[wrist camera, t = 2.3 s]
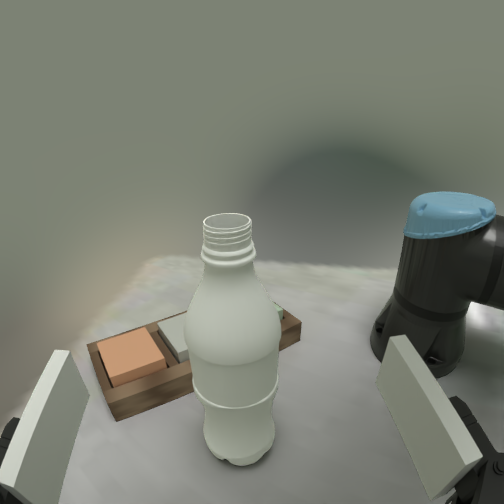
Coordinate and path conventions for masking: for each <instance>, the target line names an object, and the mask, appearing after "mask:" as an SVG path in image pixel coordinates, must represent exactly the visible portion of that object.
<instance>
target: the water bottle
mask: <svg viewBox="0 0 504 504" xmlns="http://www.w3.org/2000/svg"><path fill="white" fill-rule="evenodd" d="M251 225H252V223H251V219H250V218H249V217H248V216H245V215H242V214H236V213H224V214H217V215H212V216H210V217H208V218H206V219H205V220H204V221H203V230H204V231H203V235H204V236H203V240H204V242H203V245H202V249H203V250H202V251H201V260H202V261H203V262H204V263H205V266H204V273H203V277H202V280H201V282H200V284H199V286H198V288H197V290H196V292H195V294H194V296H193V299H192V301H191V303H190V305H189V308H188V310H187V314H186V317H185V321H184V339H185V343H186V345H187V347H188V352H189V358H190V363H191V369H192V374H193V377H192V382H193V388H194V392H195V395H196V397H197V399H198V400H199V401H200V402H201V403H202V404H203V406H204V408H205V421H204V426H203V432H204V437H205V441H206V443H207V446H208V447H209V449H210V451H211V452H212V453H213V454H214V455H215V456H216V457H217V458H219V459H221V460H224V459H227V460H229V461H230V462H231V463H232V464H234V465H239V466H244V465H249V464H253V463H255V462H256V461H258V460H259V459H260V458H261V457H262V456H263V454H264V453H265V452H267V451H268V450H269V449H270V448H271V446H272V444H273V441H274V437H275V424H274V422H273V420H272V412H271V411H272V403H273V400H274V397H275V395H276V393H277V390H278V384H279V374H278V354H279V341H280V339H281V323H280V319H279V314H278V312H277V309H276V307H275V305H274V303H273V302H272V300H271V298H270V296H269V294H268V293H267V291H266V290H265V288H264V287H263V285H262V283H261V282H260V280H259V279H258V277H257V275H256V272H255V269H254V265H253V260H254V259H255V258H256V250H255V248H254V243H253V241H252V239H251V236H252V233H251V230H252V227H251Z"/></svg>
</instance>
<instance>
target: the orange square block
mask: <svg viewBox="0 0 504 504" xmlns="http://www.w3.org/2000/svg"><path fill="white" fill-rule="evenodd" d="M97 346H98V348H99V351H100V354H101V357H102V359H103V362H104V364H105V367H106V370H107V372H108V375H109V377H110V380H111V382H112V384H113V387H114V388H115V387H118V386H121V385H124V384H127V383H129V382H132V381H135V380H138V379H140V378H143V377H146V376H149V375H151V374H154V373H157V372H159V371H162V370H164V369H167V365H166V361H165V358H164V356H163V355H162V353H161V352H160V350H159V348H158V347H157V345H156V344H155V342H154V341H153V339H152V337H151V336H150V334H149V333H148V331H147V329H146V328H145V327H143V328H140V329H137V330H134V331H131V332H128V333H125V334H122V335H119V336H116V337H113V338H110V339H107V340H104V341H101V342H98V343H97Z"/></svg>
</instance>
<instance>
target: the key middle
mask: <svg viewBox="0 0 504 504" xmlns="http://www.w3.org/2000/svg"><path fill="white" fill-rule="evenodd" d="M186 314H187V312H186V313H184V314H181V315H178V316H175V317H172V318H169V319H166V320H164V321H161V322H158V323H157V326H158V330H159V335H160V338H161V339H162V340H163V342H164V343H165V345H166V346H167V348H168V349H169V351H170V352H171V354H172V355H173V356H174V358H175V359H176V361H177V362H178V364H180V363H182V362H185V361H187V360H190V358H189V352H188V347H187V345H186V343H185V339H184V321H185V317H186Z"/></svg>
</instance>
